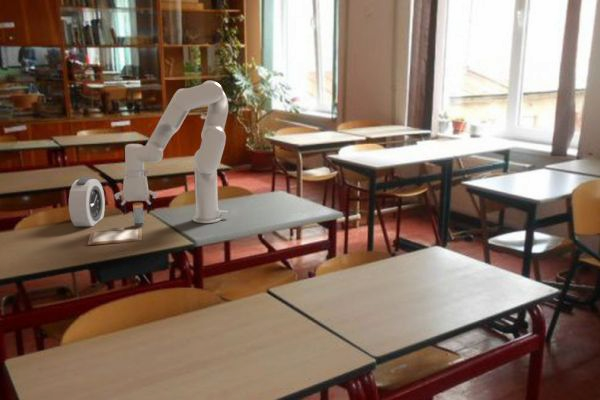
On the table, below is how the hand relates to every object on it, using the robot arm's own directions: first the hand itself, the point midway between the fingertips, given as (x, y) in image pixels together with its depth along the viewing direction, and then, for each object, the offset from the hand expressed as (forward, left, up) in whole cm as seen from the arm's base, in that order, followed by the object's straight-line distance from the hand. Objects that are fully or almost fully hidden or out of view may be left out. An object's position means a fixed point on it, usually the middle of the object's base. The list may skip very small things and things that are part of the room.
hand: (136, 213), depth 242 cm
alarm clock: (+20, -12, -6) cm, 24 cm away
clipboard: (+8, +13, -6) cm, 16 cm away
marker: (-1, 0, -6) cm, 6 cm away
